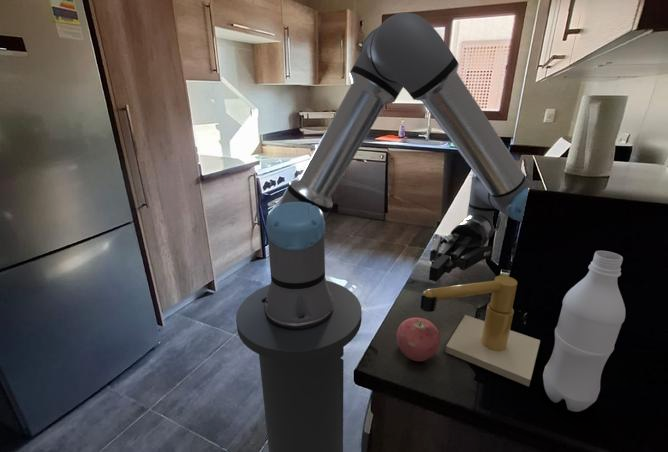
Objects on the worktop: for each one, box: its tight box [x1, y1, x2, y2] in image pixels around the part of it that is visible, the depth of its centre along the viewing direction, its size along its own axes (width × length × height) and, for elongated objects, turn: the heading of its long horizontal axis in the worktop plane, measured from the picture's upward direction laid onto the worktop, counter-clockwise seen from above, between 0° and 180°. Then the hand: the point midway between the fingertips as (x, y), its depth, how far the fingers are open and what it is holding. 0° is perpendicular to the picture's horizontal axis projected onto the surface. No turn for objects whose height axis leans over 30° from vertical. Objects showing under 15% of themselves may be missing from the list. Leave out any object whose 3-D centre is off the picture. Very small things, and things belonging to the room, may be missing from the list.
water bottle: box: [542, 250, 626, 413], centre depth 50 cm, size 7×7×25 cm
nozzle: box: [419, 275, 518, 313], centre depth 59 cm, size 18×4×6 cm, turn 103°
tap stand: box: [444, 302, 541, 388], centre depth 63 cm, size 14×12×9 cm
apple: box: [396, 317, 441, 362], centre depth 62 cm, size 7×7×8 cm
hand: (433, 274), depth 63 cm, fingers closed
